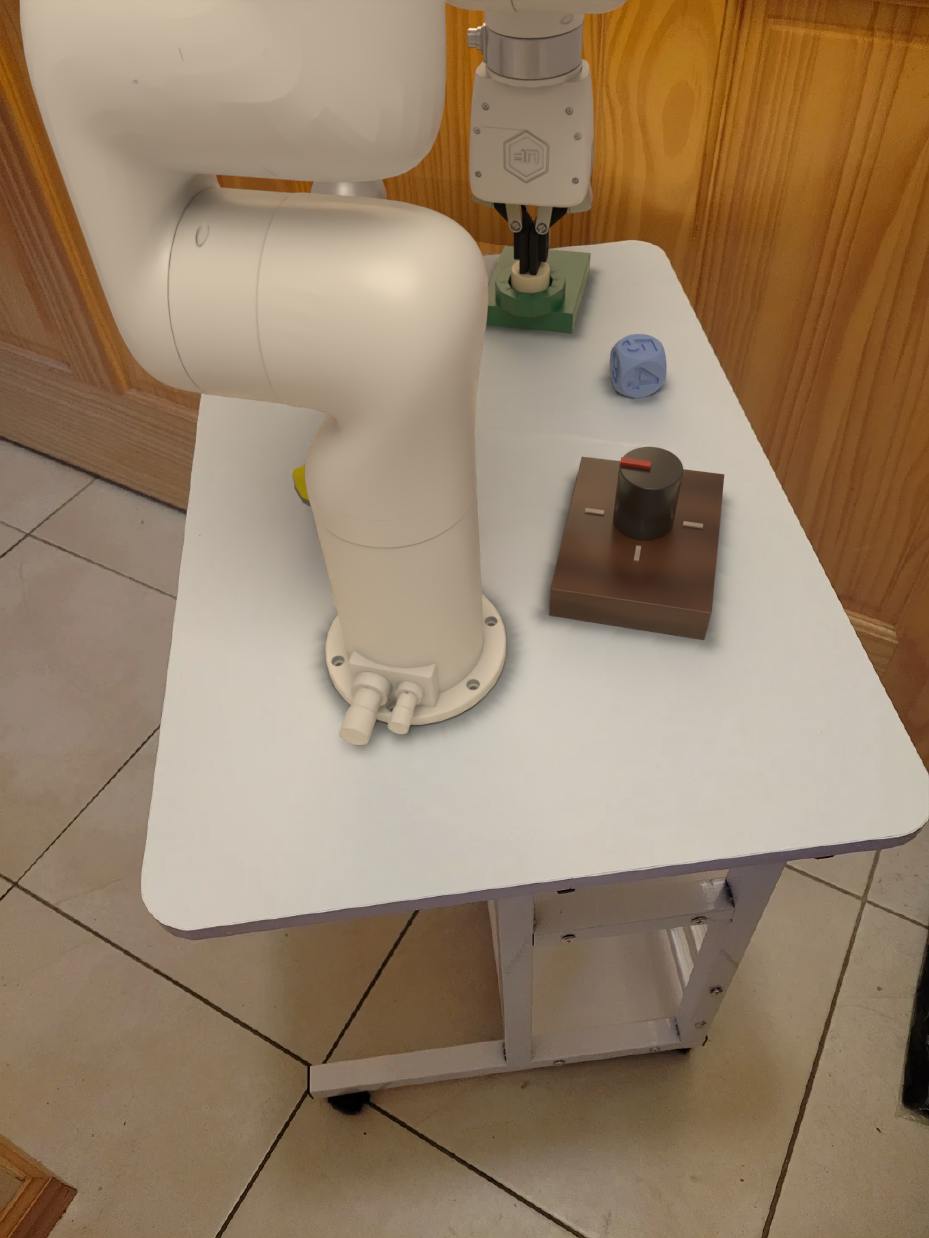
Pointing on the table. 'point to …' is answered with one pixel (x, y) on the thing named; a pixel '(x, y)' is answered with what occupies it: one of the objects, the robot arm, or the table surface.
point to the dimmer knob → (647, 492)
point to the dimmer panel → (638, 558)
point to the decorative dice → (638, 365)
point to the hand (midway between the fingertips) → (530, 266)
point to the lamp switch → (530, 279)
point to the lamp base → (539, 294)
